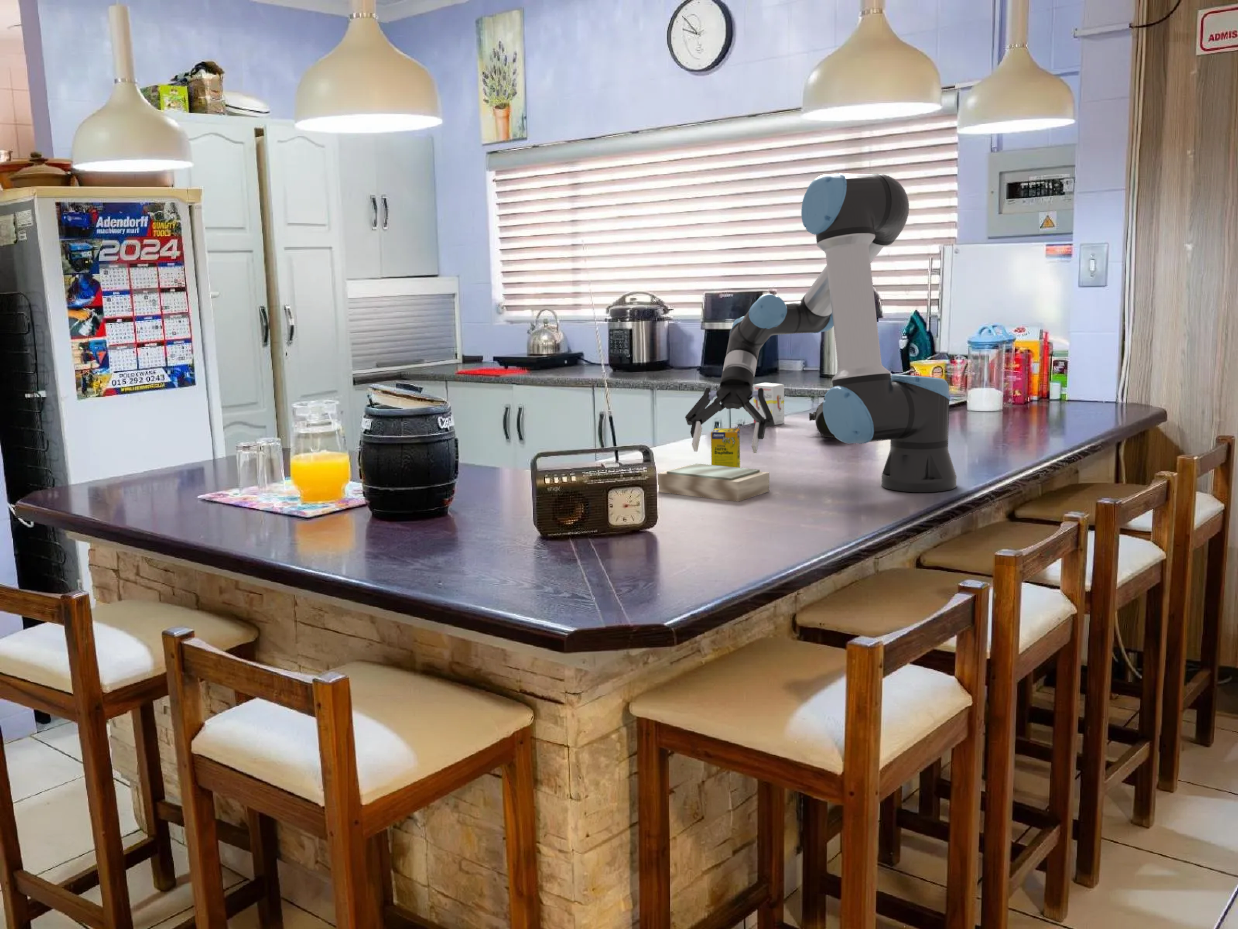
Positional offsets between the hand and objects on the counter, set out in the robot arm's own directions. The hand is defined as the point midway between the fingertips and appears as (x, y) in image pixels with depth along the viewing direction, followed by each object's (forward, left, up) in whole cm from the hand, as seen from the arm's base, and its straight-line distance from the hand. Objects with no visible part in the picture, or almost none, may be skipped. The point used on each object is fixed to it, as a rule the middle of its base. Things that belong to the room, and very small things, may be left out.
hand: (724, 448), depth 249 cm
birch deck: (-7, +15, -6) cm, 17 cm away
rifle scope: (+10, -67, -7) cm, 69 cm away
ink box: (+37, -80, -7) cm, 89 cm away
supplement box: (-1, +1, -7) cm, 7 cm away
